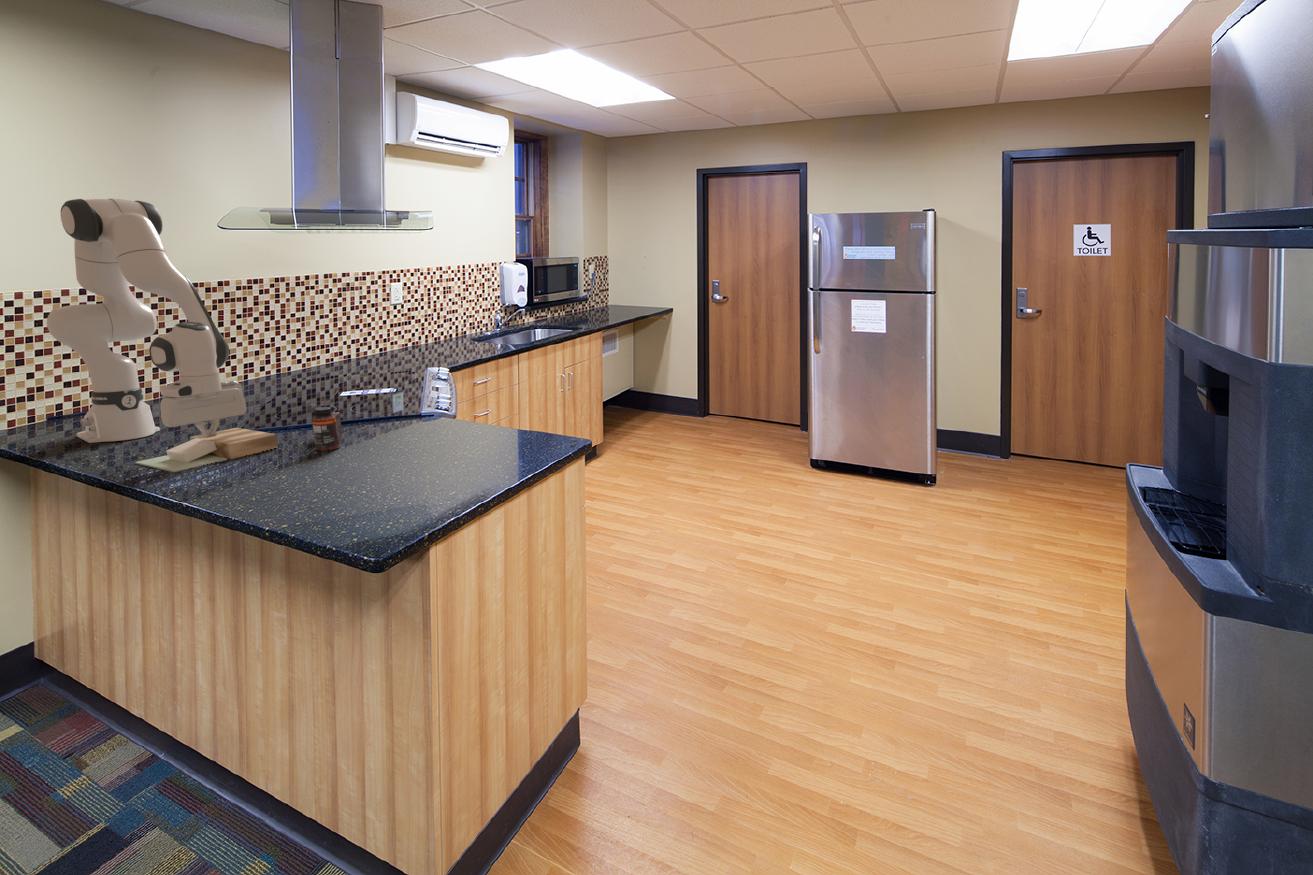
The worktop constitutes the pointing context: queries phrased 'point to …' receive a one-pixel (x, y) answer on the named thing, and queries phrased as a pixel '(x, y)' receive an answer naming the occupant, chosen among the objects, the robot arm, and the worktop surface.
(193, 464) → the mat
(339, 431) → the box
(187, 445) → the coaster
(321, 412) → the supplement bottle
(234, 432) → the serving board
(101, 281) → the robot arm
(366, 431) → the worktop surface
